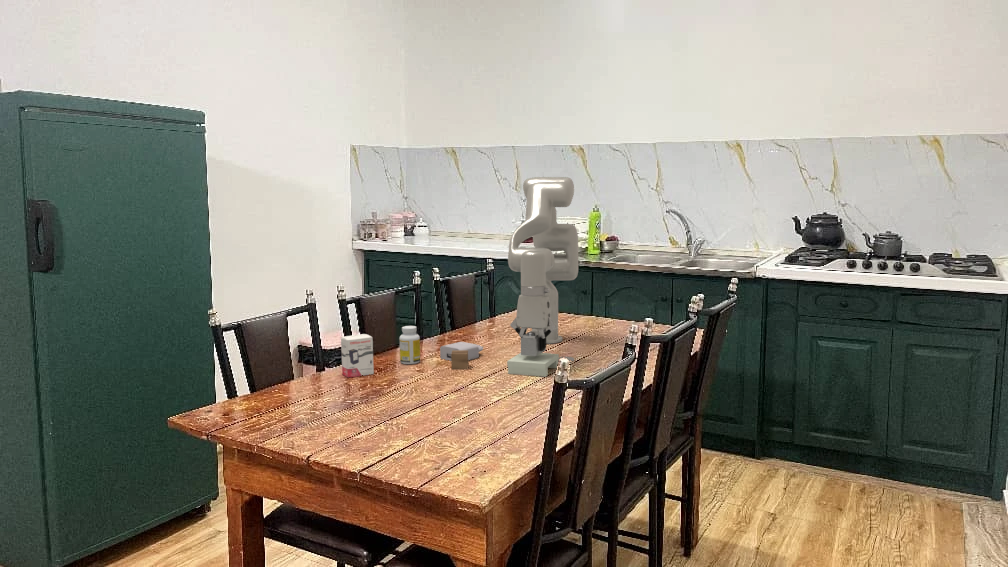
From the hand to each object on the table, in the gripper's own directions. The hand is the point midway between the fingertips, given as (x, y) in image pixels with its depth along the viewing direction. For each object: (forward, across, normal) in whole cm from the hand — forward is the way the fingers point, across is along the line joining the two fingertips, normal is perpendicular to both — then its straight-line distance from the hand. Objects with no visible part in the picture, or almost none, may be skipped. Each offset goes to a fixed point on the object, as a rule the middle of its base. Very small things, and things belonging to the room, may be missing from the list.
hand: (533, 349), depth 247 cm
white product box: (+7, +49, +22) cm, 54 cm away
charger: (+7, +27, -10) cm, 30 cm away
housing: (+1, 0, 0) cm, 1 cm away
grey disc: (+7, -6, -16) cm, 18 cm away
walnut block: (+7, +23, +4) cm, 24 cm away
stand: (+7, 0, 0) cm, 7 cm away
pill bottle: (+7, +41, +3) cm, 42 cm away
